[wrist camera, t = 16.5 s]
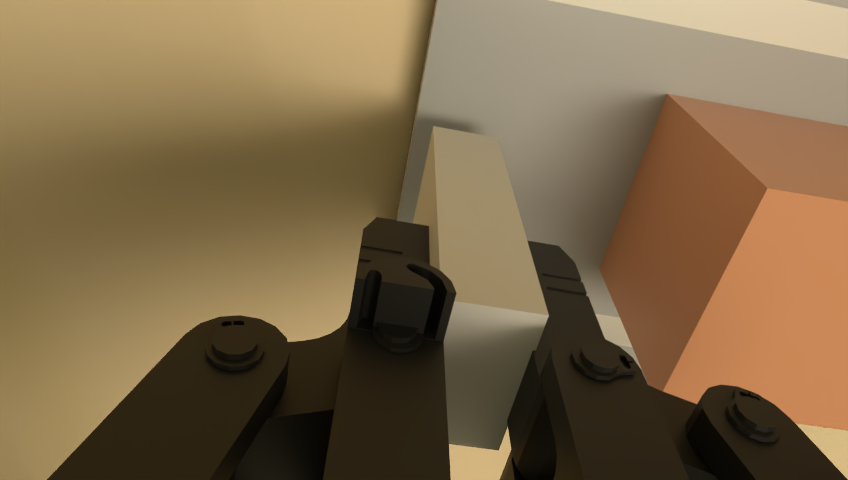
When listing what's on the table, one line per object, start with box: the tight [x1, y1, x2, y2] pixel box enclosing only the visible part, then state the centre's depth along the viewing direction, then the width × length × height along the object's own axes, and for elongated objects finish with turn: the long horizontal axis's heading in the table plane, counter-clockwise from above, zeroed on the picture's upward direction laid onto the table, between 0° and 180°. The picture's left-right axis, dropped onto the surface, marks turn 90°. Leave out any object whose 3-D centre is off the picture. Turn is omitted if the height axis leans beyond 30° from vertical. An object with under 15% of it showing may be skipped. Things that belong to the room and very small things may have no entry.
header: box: [396, 0, 848, 384], centre depth 14 cm, size 16×14×7 cm
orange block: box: [599, 94, 848, 430], centre depth 14 cm, size 7×5×5 cm
